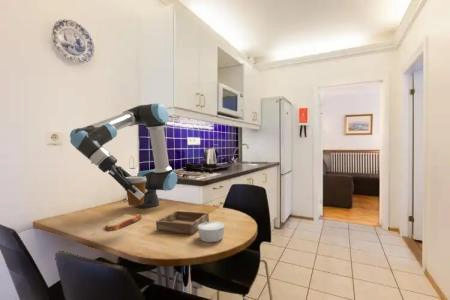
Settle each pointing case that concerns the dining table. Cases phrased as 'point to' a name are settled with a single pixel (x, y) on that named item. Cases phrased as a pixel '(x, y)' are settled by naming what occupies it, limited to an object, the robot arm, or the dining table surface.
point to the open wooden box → (182, 222)
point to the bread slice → (122, 222)
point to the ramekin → (211, 231)
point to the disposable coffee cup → (140, 185)
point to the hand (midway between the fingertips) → (143, 195)
